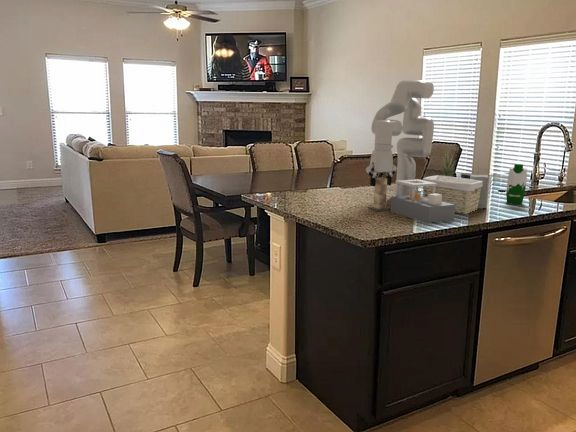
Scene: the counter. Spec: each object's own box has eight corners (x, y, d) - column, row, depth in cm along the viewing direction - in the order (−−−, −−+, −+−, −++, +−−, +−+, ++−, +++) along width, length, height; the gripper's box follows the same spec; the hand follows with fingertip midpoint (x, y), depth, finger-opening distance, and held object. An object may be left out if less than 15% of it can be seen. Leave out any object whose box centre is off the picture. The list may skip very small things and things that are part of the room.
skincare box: (485, 206, 249) (488, 174, 245) (486, 209, 242) (489, 176, 239) (467, 205, 251) (470, 173, 248) (467, 208, 245) (470, 175, 241)
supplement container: (478, 198, 273) (480, 175, 270) (457, 196, 276) (459, 174, 274) (478, 195, 283) (480, 173, 280) (458, 193, 286) (460, 172, 283)
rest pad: (381, 207, 243) (381, 206, 243) (389, 210, 237) (389, 208, 236) (368, 208, 240) (368, 207, 240) (377, 211, 234) (377, 209, 234)
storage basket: (481, 210, 239) (484, 179, 236) (467, 215, 228) (470, 183, 224) (434, 203, 255) (436, 174, 252) (418, 208, 243) (421, 177, 240)
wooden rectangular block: (380, 206, 241) (382, 177, 238) (385, 208, 237) (387, 178, 234) (373, 207, 239) (375, 177, 236) (378, 209, 235) (380, 179, 232)
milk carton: (504, 203, 258) (509, 164, 254) (505, 200, 266) (509, 162, 262) (523, 205, 255) (528, 165, 250) (523, 202, 263) (528, 163, 258)
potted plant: (436, 187, 306) (439, 146, 301) (452, 188, 305) (456, 147, 299) (438, 190, 296) (442, 147, 291) (455, 190, 295) (459, 148, 290)
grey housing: (390, 211, 234) (392, 180, 231) (414, 209, 240) (416, 178, 236) (428, 223, 211) (430, 188, 208) (453, 220, 217) (457, 187, 214)
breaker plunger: (406, 210, 231) (407, 193, 229) (414, 210, 233) (415, 193, 231) (413, 213, 226) (414, 195, 225) (421, 212, 228) (422, 194, 227)
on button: (427, 209, 218) (428, 193, 217) (434, 209, 220) (435, 193, 218) (433, 211, 215) (434, 195, 213) (440, 211, 216) (442, 194, 215)
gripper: (393, 146, 239) (391, 183, 243) (362, 147, 232) (360, 185, 235) (403, 148, 232) (400, 185, 236) (371, 148, 225) (369, 187, 229)
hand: (380, 185), depth 236 cm, fingers open, 8 cm apart
